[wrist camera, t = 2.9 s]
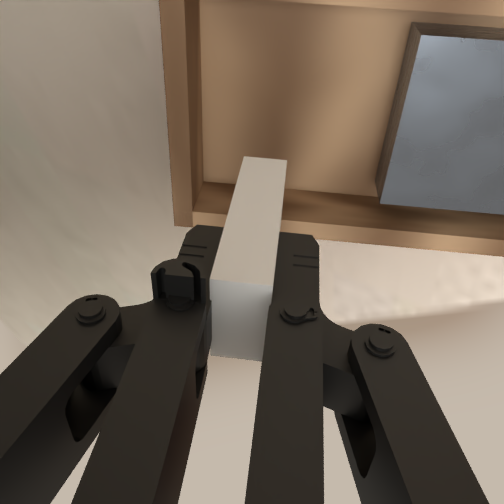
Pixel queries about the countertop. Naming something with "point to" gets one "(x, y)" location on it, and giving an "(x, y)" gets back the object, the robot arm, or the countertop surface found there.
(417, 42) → the grey square tile
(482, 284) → the countertop surface
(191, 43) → the box
